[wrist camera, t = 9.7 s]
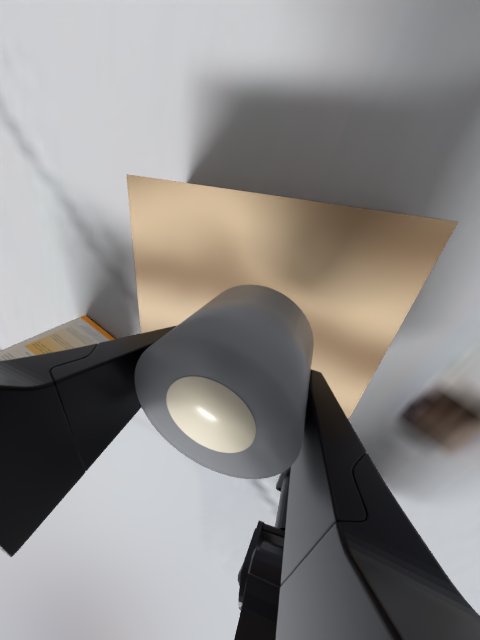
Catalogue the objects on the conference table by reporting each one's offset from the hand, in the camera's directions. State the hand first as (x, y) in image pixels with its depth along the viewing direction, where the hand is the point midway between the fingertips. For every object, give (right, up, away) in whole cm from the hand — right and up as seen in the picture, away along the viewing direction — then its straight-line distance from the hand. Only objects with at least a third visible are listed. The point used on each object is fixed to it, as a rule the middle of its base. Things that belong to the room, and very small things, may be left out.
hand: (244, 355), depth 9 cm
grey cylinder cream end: (0, +1, +1) cm, 1 cm away
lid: (0, +3, +5) cm, 6 cm away
